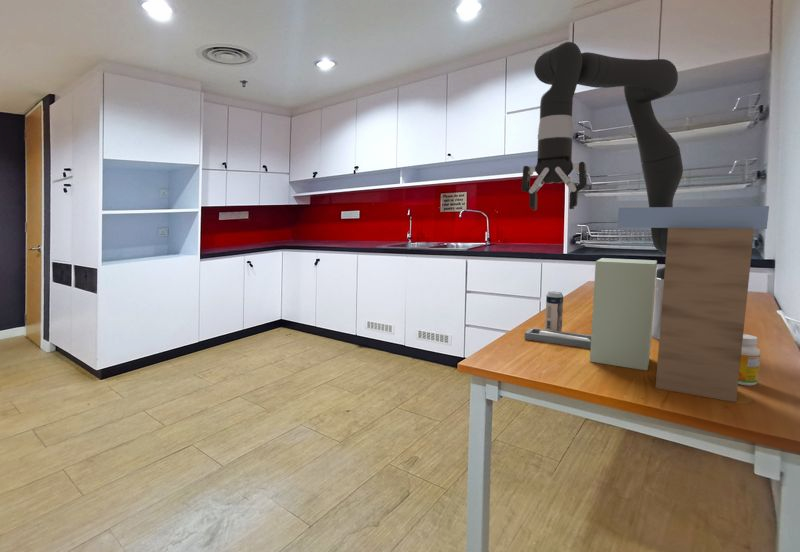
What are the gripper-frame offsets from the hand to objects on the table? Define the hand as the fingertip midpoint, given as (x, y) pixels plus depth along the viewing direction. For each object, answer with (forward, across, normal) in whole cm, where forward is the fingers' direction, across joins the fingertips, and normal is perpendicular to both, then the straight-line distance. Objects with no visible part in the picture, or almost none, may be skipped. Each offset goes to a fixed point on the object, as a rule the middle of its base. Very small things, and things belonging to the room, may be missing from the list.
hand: (552, 209), depth 104 cm
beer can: (+36, +4, -26) cm, 45 cm away
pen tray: (+36, -2, -17) cm, 40 cm away
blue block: (+4, -27, +5) cm, 27 cm away
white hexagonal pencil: (+36, -2, -17) cm, 40 cm away
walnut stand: (+36, -30, +5) cm, 47 cm away
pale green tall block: (+36, -16, -7) cm, 40 cm away
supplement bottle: (+36, -38, -5) cm, 53 cm away
